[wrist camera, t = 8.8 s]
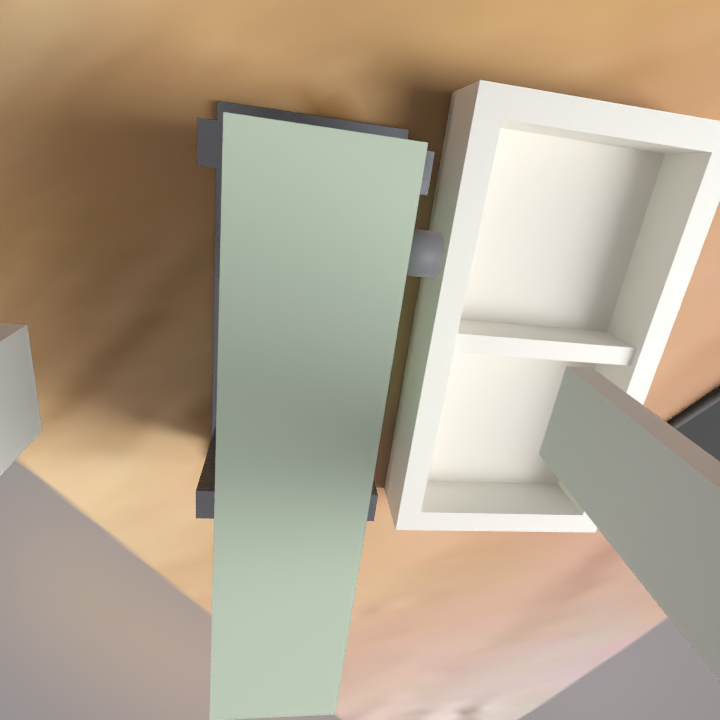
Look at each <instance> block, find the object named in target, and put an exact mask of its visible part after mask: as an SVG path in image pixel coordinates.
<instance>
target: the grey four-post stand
mask: <svg viewBox="0 0 720 720" xmlns="http://www.w3.org/2000/svg"><path fill="white" fill-rule="evenodd" d="M223 112H227V113H234V114H240V115H247V116H254V117H260V118H267V119H274V120H280V121H287V122H294V123H300V124H307V125H314V126H320V127H327V128H334V129H340V130H347V131H354V132H360V133H367V134H374V135H380V136H387V137H394V138H400V139H408V132H409V130H407V129H400V128H394V127H387V126H380V125H374V124H367V123H361V122H354V121H347V120H341V119H334V118H327V117H321V116H314V115H307V114H301V113H294V112H287V111H281V110H274V109H267V108H261V107H254V106H248V105H241V104H234V103H228V102H221V101H217V120H210V119H203V118H197V166H203V167H210V168H216V214H215V276H214V338H213V400H212V439H211V443H210V446H209V449H208V453H207V456H206V459H205V463H204V466H203V469H202V473H201V476H200V479H199V483H198V486H197V489H196V518H214V503H215V458H216V414H217V369H218V325H219V280H220V236H221V192H222V147H223ZM434 154H435V152H432V151H427V153H426V159H425V165H424V171H423V177H422V184H421V190H420V195H428V190H429V184H430V178H431V172H432V166H433V160H434ZM377 498H378V494H377V490H376V486H375V482H374V479H373V485H372V491H371V498H370V504H369V510H368V516H367V521H374V516H375V510H376V504H377Z"/></svg>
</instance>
